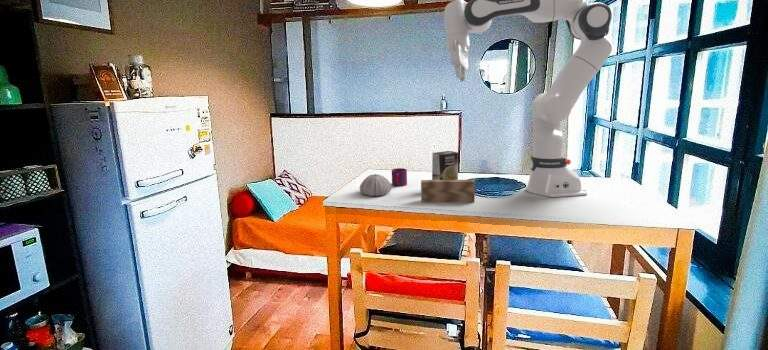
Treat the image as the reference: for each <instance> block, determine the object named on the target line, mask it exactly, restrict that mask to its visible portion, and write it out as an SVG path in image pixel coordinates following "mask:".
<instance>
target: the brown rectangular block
mask: <svg viewBox="0 0 768 350" xmlns="http://www.w3.org/2000/svg"><path fill="white" fill-rule="evenodd" d="M475 191H476V181H475V179H458V180H432V179H421V180H420V201H421V203H475V201H476V200H475V197H476V196H475V194H476V192H475Z"/></svg>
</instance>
